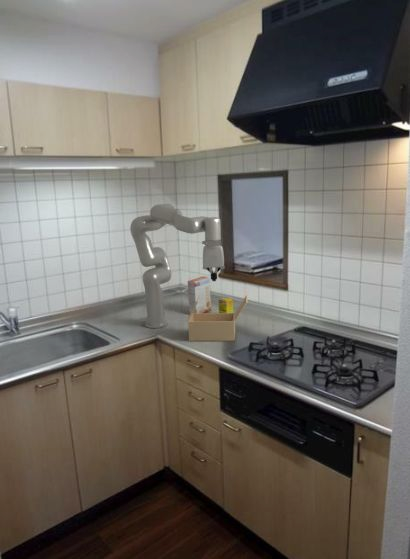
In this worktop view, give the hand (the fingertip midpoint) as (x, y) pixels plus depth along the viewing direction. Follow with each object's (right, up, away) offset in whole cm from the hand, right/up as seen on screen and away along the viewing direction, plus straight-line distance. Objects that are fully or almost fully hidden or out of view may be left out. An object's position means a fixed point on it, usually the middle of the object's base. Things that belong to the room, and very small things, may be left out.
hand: (214, 280), depth 207 cm
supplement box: (+8, -21, +36) cm, 42 cm away
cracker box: (-7, -20, +47) cm, 52 cm away
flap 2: (+13, -13, +2) cm, 19 cm away
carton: (0, -28, +6) cm, 29 cm away
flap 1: (-10, -13, +4) cm, 17 cm away
